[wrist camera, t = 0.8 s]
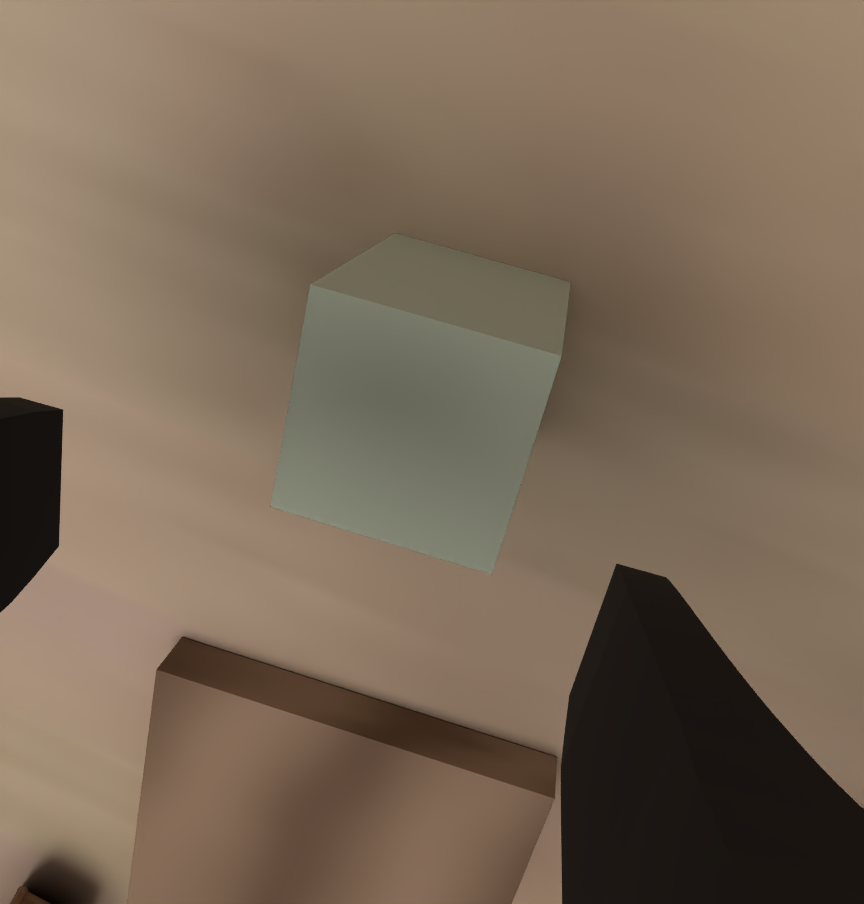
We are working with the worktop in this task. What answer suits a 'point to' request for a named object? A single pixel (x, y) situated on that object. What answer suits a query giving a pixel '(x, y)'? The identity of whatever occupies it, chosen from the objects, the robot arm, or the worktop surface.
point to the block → (420, 397)
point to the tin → (26, 897)
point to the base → (323, 795)
